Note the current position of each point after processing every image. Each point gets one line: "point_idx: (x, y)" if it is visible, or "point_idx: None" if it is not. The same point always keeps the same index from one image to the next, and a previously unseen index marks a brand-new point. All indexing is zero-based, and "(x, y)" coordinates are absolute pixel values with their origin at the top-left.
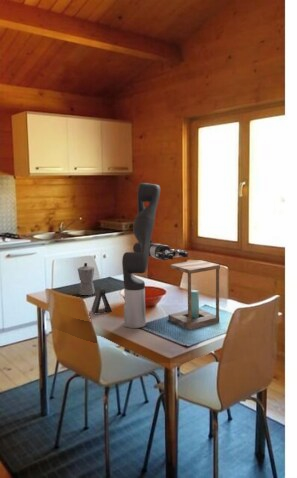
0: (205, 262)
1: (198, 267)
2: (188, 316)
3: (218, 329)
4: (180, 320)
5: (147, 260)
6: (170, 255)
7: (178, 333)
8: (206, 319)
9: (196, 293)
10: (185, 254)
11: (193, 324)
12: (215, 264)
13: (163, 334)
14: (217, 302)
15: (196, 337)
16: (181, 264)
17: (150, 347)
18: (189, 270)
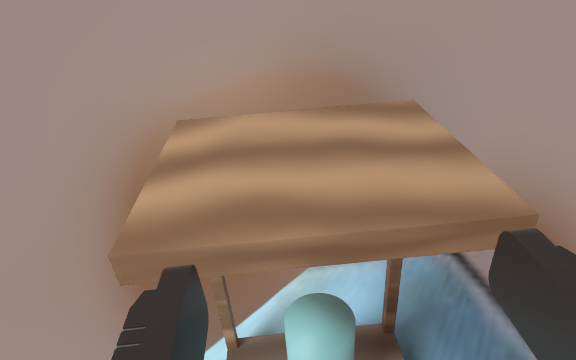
0: (180, 172)
1: (331, 116)
2: (395, 307)
3: (288, 299)
4: None
5: None
6: (553, 261)
7: (445, 329)
8: None
9: (316, 295)
10: (196, 301)
11: (371, 327)
12: (186, 129)
13: (513, 346)
14: (227, 293)
15: None
16: (411, 185)
17: None
18: (413, 101)
